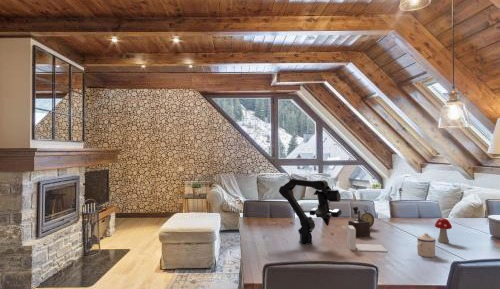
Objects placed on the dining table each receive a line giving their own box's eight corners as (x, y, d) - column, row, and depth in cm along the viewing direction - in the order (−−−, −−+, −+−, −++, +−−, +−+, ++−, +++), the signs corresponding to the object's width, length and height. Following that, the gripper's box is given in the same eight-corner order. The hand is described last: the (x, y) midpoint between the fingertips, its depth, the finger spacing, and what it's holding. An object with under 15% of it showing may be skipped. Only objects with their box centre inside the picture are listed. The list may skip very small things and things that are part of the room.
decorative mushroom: (431, 241, 230) (431, 217, 230) (441, 240, 233) (441, 216, 233) (445, 244, 220) (444, 220, 221) (455, 243, 223) (455, 219, 224)
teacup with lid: (423, 251, 204) (423, 231, 205) (439, 255, 197) (439, 234, 197) (410, 254, 198) (410, 233, 198) (426, 259, 190) (425, 236, 191)
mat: (358, 251, 205) (358, 250, 205) (353, 244, 219) (353, 243, 219) (387, 252, 203) (387, 251, 203) (381, 245, 217) (381, 244, 217)
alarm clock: (361, 229, 262) (361, 207, 262) (357, 228, 267) (357, 206, 267) (374, 229, 265) (374, 206, 265) (370, 227, 270) (370, 205, 270)
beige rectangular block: (350, 250, 207) (350, 228, 207) (347, 245, 217) (347, 225, 217) (355, 250, 207) (355, 229, 207) (352, 245, 217) (352, 225, 217)
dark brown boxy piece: (371, 236, 243) (371, 209, 243) (358, 237, 238) (358, 209, 238) (355, 231, 257) (355, 205, 257) (343, 232, 252) (343, 206, 253)
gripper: (303, 205, 217) (307, 229, 220) (331, 207, 205) (336, 232, 208) (311, 198, 225) (316, 221, 228) (339, 199, 214) (344, 224, 216)
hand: (327, 225), depth 220 cm, fingers closed
